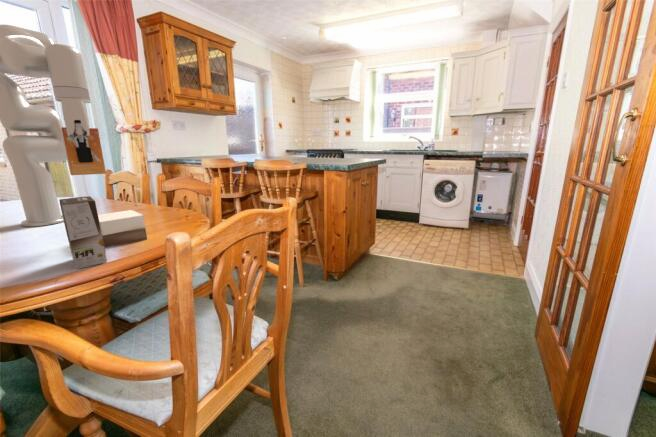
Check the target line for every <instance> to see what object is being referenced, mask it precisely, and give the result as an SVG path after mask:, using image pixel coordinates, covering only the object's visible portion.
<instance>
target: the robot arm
mask: <svg viewBox="0 0 656 437" xmlns="http://www.w3.org/2000/svg"><path fill="white" fill-rule="evenodd" d="M7 75H14V76H22V77H28V78H35V79H41V78H46V79H50V82H51V85H52V89H53V90H52V91H53V96H54V98H55V101H56V102H61V103H60V104H61V111H62V117H63V120H64V124H63V121H62V119H61V117H60V114H59V113H58V112H57V110H55V109H54V108H52V107H49V106H45V105H34V104H30V103H29V100H28V99H27V95H26V92H25V90H24V89H23V88H22V87H21V86H20V85H19V84H18V83H17V82H16V81H15V80H13V79H12V78H11V77H9V76H7ZM91 103H92V102H91V97H90V91H89V85H88V81H87V77H86V71H85V67H84V60H83V57H82V53H81V51H80V50H79V49H77V48H75V46H74V47H73V46H71V45H66V44H61V43H55V42H54V40H53V39H52V38H51V37H50V36H49V35H47V34H45V33H43V32H40V31H35V30H32V29H27V28H23V27H19V26H14V25H10V24H0V123H1V125H2V127H3V128H4V129H5V130H8V131H10V132H15V133H16V132H17V133H43V134H45V135H36V134H35V135H33V134H32V135H31V134H29V135H27V134H26V135H25V134H24V135H23V134H20V135H16V134H15V135H11V136H8V137H6V138H5V139H3V141H2V148H3V151H4V153H5V155H6V158H7V159H8V161H9V163H10V166H11V169H12V171H13V175H14V179H15V182H16V185H17V189H18V192H19V196H20V201H21V205H22V207H23V211H24V216H25V218H26V219H24V220H22V221H21V226H22V227H27V228H28V227H43V226H48V225H55V224H60V223H64V220H63V215H62V212H61V208H60V204H59V200H58V196H57V193H56V188H55V184H54V181H53V180H54V179H53V176H52V174H51V172H50V171H49V170H48V169H47V168H45V167H44V166H42V165H41V164H42V163H58V162H66V161H67V157H66V153H65V148H64V143H63V138H62V134H61V127H64V125H65V127H66V131H67V136H68V137H69V138H71V136H70V135H73V133H74V138H75V142H76V147H77V148H76V152H77V157H78V161H79V162H80V163H87V162H93V158H92V153H91V148H89V144H88V138H89V137H90V130H89V128H91V127H90V119H89V114H88V109H87V104H91ZM74 130H75V132H76V133H75V132H74ZM84 132H85V133H84ZM86 132H87V134H86ZM76 134H77V136H76ZM83 134H85V136H83ZM87 137H88V138H87ZM40 163H41V164H40Z"/></svg>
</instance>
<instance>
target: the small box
mask: <svg viewBox="0 0 656 437" xmlns="http://www.w3.org/2000/svg"><path fill="white" fill-rule="evenodd" d="M89 130H90V137H89V138H88V137H87V138H88V144H89V148H91V153H92V158H93V162H87V163H80V162H79V161H78V157H77V152H76V148H77V147H76V142H75V138H74V133H73V135H70V136H71V138H69V137H68V136H67V131H66V126H65V127H64V126H63V127H61V134H62V138H63V143H64V148H65V153H66V157H67V165H68V169H69V170H68V171H69V174H70V175H71V176H86V175H87V176H88V175H90V176H91V175H104V174H105V175H107V174H106V173H107V171H106V164H105V158H104V154H103V147H102V143H101V137H100V133H99V128H98V127H97V128H96V127H90V128H89ZM74 132H75V130H74ZM75 133H76V132H75ZM84 133H85V132H84ZM86 134H87V132H86ZM76 136H77V134H76ZM83 136H85V134H83Z"/></svg>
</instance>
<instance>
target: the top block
mask: <svg viewBox="0 0 656 437" xmlns="http://www.w3.org/2000/svg"><path fill="white" fill-rule="evenodd" d="M98 218H99V223H100V228H101V233H102V235H109V234H114V233H119V232H124V231H129V230H134V229H140V228H145V229H146V224H145V223H146V222H145V218H144V214H142V213H140V212H137V211H135V210H133V209H129V210H123V211H114V212H107V213H101V214H98Z"/></svg>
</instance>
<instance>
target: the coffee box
mask: <svg viewBox="0 0 656 437" xmlns="http://www.w3.org/2000/svg"><path fill="white" fill-rule="evenodd" d="M58 202H59V207H60V212H61V215H62V216H63V220H64V221H63V224H64V227H65V231H66V237H67V239H68V240H67V241H68V244H69V249H70V252H71V256H72V261H73V263H74V266H75V269H77V270H79V269H84V268H88V267H91V266H97V265H100V264H106V263H107V262H108V261H107V260H108V259H107V254H106V249H105V248H106V247H104V243H103V238H102V233H101V228H100V223H99V218H98V215H99V214H98V210H97V209H98V208H97V203H96V201H95V199H94V198H92V196H91V195H88V196H79V197H78V196H76V197H70V198H61V199H60V198H59V200H58Z"/></svg>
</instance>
